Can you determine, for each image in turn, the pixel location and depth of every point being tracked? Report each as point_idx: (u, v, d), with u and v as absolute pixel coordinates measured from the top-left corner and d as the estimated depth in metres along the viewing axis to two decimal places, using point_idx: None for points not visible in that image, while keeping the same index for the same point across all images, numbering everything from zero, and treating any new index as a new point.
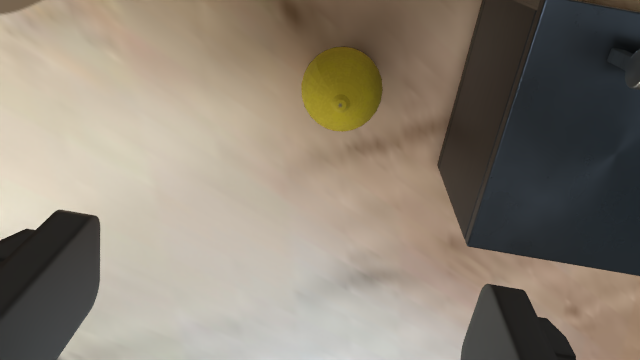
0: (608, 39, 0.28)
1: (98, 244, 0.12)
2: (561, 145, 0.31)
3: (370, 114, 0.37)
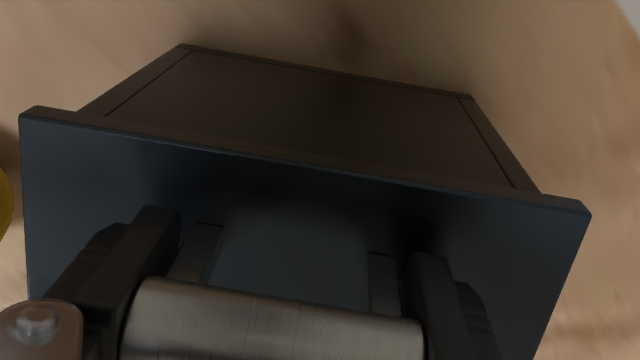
0: (182, 205, 0.13)
1: (178, 237, 0.12)
2: None
3: None
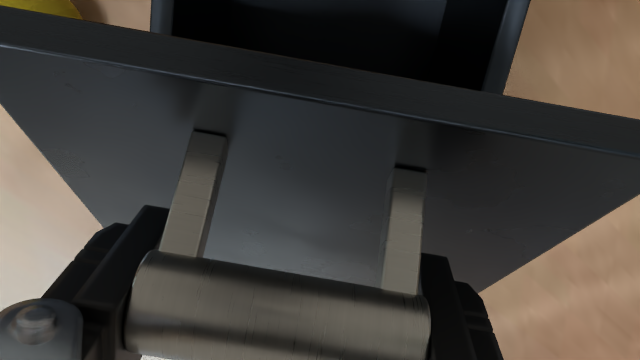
0: (174, 117, 0.11)
1: None
2: None
3: None
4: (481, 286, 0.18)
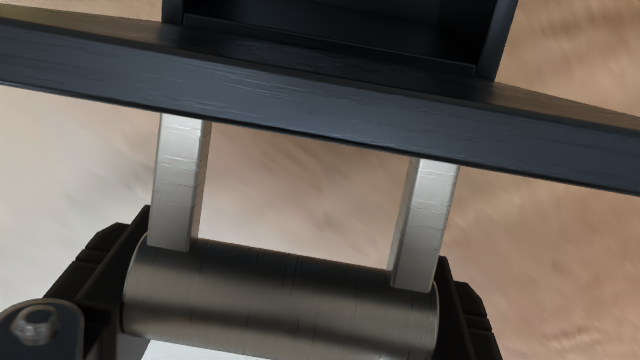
0: None
1: None
2: None
3: None
4: None
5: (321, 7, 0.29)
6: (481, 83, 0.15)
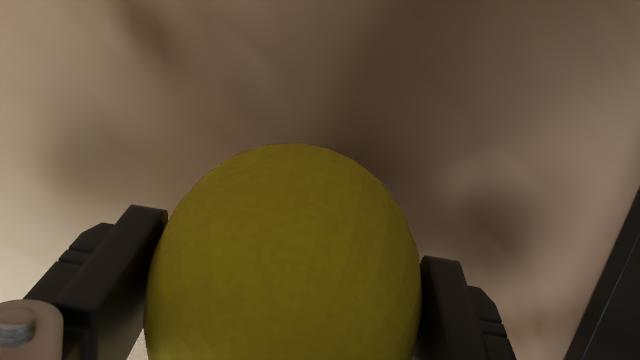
0: None
1: None
2: None
3: None
4: None
5: None
6: None
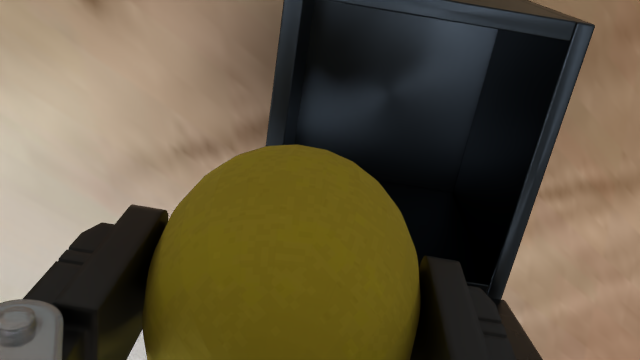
0: None
1: None
2: None
3: None
4: None
5: None
6: None
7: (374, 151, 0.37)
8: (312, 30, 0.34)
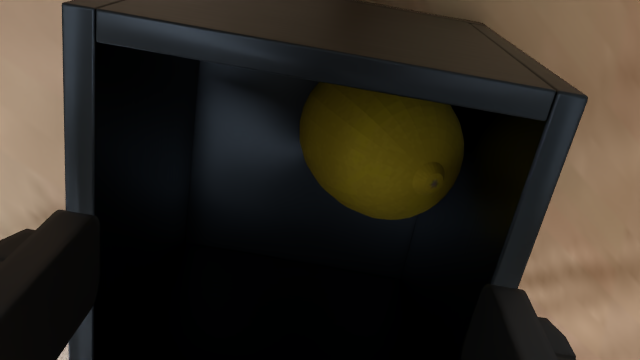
0: None
1: (98, 244, 0.12)
2: None
3: None
4: None
5: (272, 282, 0.26)
6: None
7: (294, 226, 0.28)
8: (201, 66, 0.25)
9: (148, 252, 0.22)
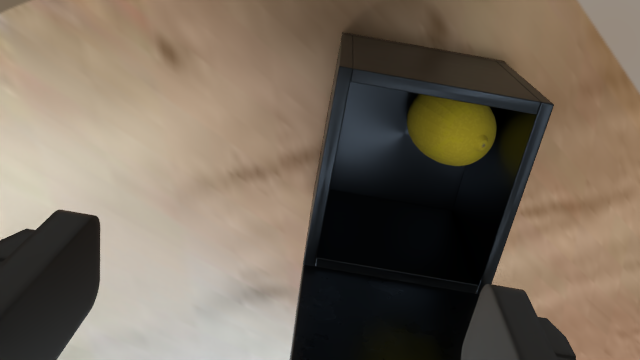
0: None
1: (98, 244, 0.12)
2: None
3: None
4: None
5: (380, 209, 0.46)
6: None
7: (390, 178, 0.47)
8: None
9: None
